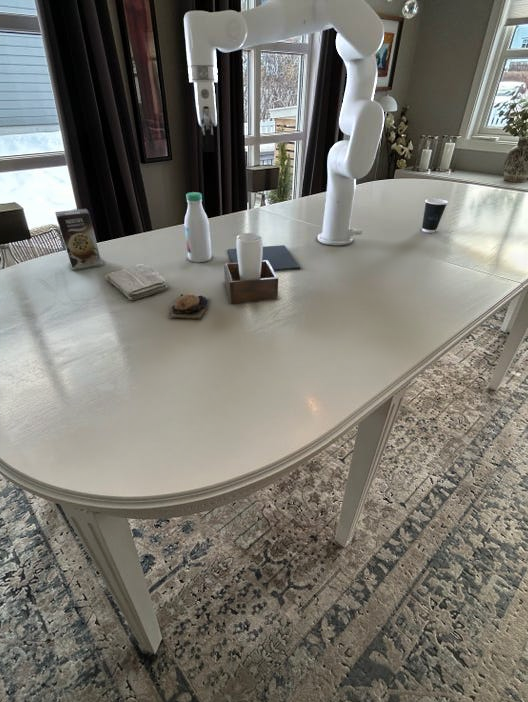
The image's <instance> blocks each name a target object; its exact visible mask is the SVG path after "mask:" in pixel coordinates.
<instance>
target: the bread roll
mask: <svg viewBox="0 0 528 702" xmlns="http://www.w3.org/2000/svg"><path fill="white" fill-rule="evenodd" d="M207 306H208V298H207V297H206V296H204V295H197V296H196V295H195V294H183V293H181V294H180V296H179V297H178V298H177V299H176V301H175V304H173V305H172V306H171V314H170V318H173V319H174V318H176V319H177V318H180V319H199V320H200V319H201V317H202V315H203V314H204V313H205V311H206V309H207Z"/></svg>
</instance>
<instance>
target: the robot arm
mask: <svg viewBox="0 0 528 702" xmlns="http://www.w3.org/2000/svg"><path fill="white" fill-rule="evenodd" d="M183 27H184V39H185V51H186V61H187V72H188V82H189V83H193V88H194V99H195V108H196V109H195V110H196V115H197V122H198V125H199V126H200V128H201V131H200V137H201V138H200V139H201V147H202V151H203V152H204V153H214V152H215V151H216V149H215V135H214V130H213V127H217V125H218V121H217V120H218V119H217V106H216V93H215V84H214V83H218V68H217V50H218V51H219V52H222V53H231V52H236V51H239V50H243V49H248V48H251V47H254V46H258V45H259V46H260V45H264V44H275V43H278V42H283V41H287V40H291V39H295V38H299V37H302V36H306V35H311V34H315V33H319V32H323V31H326V30H330V29H334V30H335V31H336V32H337V33H336V39H335V46H336V50H337V52H338V53H337V54H339V56H340V57H341V59H342V60H343V63H344V65H345V68H346V74H347V75H346V77H347V78H346V84H345V85H346V86H345V91H344V95H343V102H342V104H341V108H340V109H341V110H340V113H339V114H340V115H339V121H338V125H339V126H338V127H339V129H340V131H341V132H342V133H343V134H345V135H346V136H350V137H349V140H347V139H346V140H345V139H344V140H340V141H337V142H335V143H334V144H333V146H331V147H330V149H329V152H328V154H327V160H326V161H327V162H326V163H327V164H326V165H327V166H326V167H327V169H326V170H327V171H326V172H327V184H326V193H325V204H324V211H323V221H322V232H320V233H318V235H317V241H318V242H319V243H321V244H323V245H328V246H336V247H337V246H347V245H350V244H351V243H353V236H355V235H356V236H358V235H359V236H360V235H362V233H363V230H362V228H356V227H351V223H352V222H351V221H352V214H353V207H354V200H355V195H356V185H357V183H356V181H357V180H360V179H362V178H364V177H365V176H367V175H368V174H369V172H370V171H371V169H372V167H373V165H374V162H375V159H376V156H377V152H378V148H379V144H380V142H381V141H380V140H381V138H382V133H383V130H384V124H385V113H384V108H383V107H382V105H381V103H379V102H378V101H376V100H375V99H374V95H375V91H376V86H377V82H378V64H377V58H376V56H375V54H377V52H378V51H379V50H380V48H381V47H382V44H383V42H384V37H385V27H384V24H383V21H382V19H381V18H380V16H379V14H377V12H376V11H375V10H374V9H373V8H372V7H371V6H370V5H369V4H368V3H367V2H366V0H268V1H266V2H265V3H261V4H260V5H258V6H255V7H253V8H249V9H246V10H242V11H239V12H238V11H236V10H235V9H234V10H232V9H228V10H227V9H226V10H221V11H213V12H209V11H205V10H189V11H187V12H185V14H184V17H183Z"/></svg>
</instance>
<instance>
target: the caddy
mask: <svg viewBox="0 0 528 702" xmlns="http://www.w3.org/2000/svg"><path fill="white" fill-rule="evenodd" d="M223 272H224V284H225V288H226V291H227V296H228V298H229V302H230V304H241V303H242V304H243V303H251V302H261V301H262V302H263V301H271V300H273V301H274V300H278V299H279V277H278V275H277V273H276V271H274V270H273V268H272V267H271V265H270V263H269V261H268V260H264V261H262V266H261V277H260V279H250V280H240V275H239V267H238V263H232V262H228V263H227V262H225V263H223Z"/></svg>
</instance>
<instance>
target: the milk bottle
mask: <svg viewBox="0 0 528 702" xmlns="http://www.w3.org/2000/svg"><path fill="white" fill-rule="evenodd" d="M185 197H186V198H185V199H186V202H187V209H186V213H185V216H184V233H185V243H186V253H187V258H188V260H189V261H191V262H193V263H205V262H207V261H210V260H211V259H212V244H211V231H210V223H209V218H208V215H207V213H206V212H205V209H204V207H203V203H202V202H203V195H202V193H201V192H196V191H195V192H194V191H192V192H187V193H186V194H185Z"/></svg>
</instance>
